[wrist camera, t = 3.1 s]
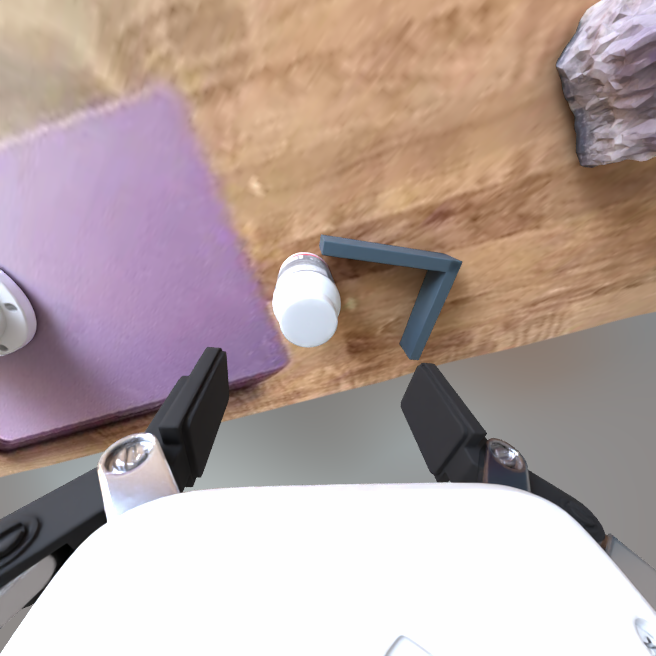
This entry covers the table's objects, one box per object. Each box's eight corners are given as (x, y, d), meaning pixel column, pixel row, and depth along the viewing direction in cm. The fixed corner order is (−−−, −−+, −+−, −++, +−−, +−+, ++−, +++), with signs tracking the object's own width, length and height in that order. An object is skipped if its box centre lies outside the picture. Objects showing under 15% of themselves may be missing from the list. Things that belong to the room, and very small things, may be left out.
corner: (306, 336, 28) (307, 353, 25) (320, 234, 22) (324, 240, 19) (407, 344, 30) (418, 360, 27) (444, 253, 24) (463, 261, 22)
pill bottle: (328, 301, 26) (343, 355, 17) (279, 301, 25) (270, 356, 17) (332, 252, 23) (352, 287, 15) (277, 249, 22) (265, 285, 14)
